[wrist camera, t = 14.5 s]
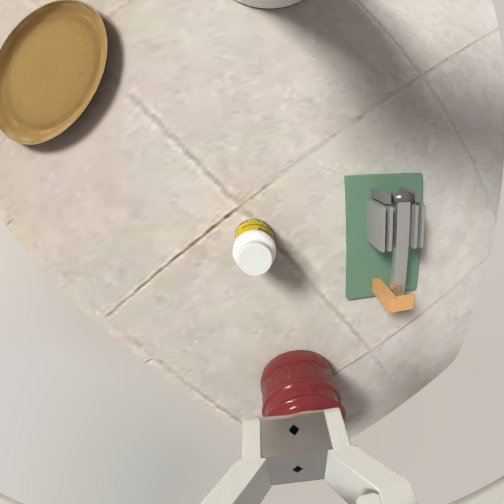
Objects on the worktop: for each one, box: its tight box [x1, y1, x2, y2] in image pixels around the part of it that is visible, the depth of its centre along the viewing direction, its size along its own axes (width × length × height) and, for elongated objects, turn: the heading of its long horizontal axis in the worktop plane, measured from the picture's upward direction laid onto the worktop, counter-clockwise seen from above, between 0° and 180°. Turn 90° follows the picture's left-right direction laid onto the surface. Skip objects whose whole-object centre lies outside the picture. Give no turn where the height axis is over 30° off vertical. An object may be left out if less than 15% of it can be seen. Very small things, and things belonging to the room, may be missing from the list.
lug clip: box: [372, 277, 415, 313], centre depth 44 cm, size 2×4×7 cm, turn 96°
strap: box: [390, 192, 414, 296], centre depth 41 cm, size 16×3×1 cm, turn 6°
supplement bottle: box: [233, 218, 276, 276], centre depth 41 cm, size 5×5×10 cm
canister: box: [261, 350, 346, 421], centre depth 46 cm, size 13×13×18 cm
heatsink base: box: [345, 173, 426, 299], centre depth 43 cm, size 19×12×6 cm, turn 6°
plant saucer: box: [0, 0, 108, 145], centre depth 35 cm, size 24×24×3 cm
